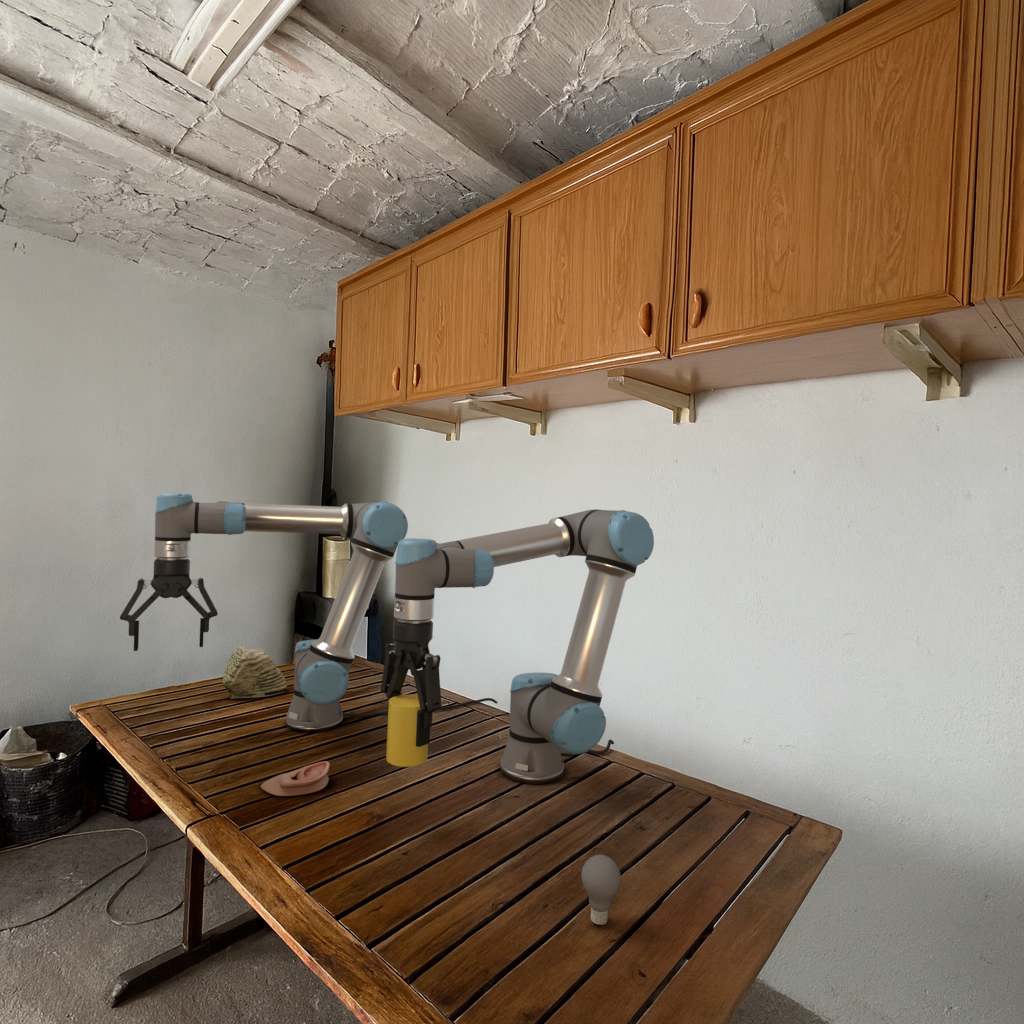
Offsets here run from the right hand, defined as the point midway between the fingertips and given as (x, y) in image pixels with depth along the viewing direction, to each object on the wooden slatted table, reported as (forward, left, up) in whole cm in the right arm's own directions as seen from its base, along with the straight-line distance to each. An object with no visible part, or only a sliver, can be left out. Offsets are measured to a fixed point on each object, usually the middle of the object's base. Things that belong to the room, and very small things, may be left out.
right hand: (408, 737), depth 121 cm
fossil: (-4, -97, -18) cm, 99 cm away
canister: (0, 0, -4) cm, 4 cm away
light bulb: (-10, +41, -18) cm, 46 cm away
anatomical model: (+10, -30, -18) cm, 36 cm away
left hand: (+28, -62, +8) cm, 69 cm away
